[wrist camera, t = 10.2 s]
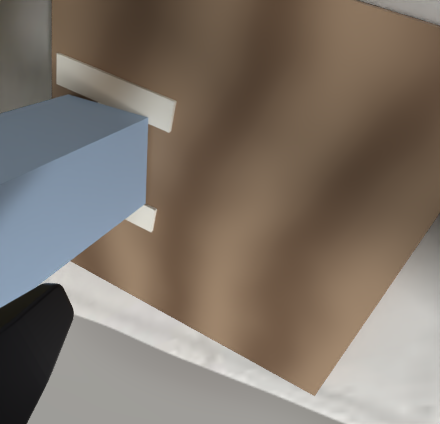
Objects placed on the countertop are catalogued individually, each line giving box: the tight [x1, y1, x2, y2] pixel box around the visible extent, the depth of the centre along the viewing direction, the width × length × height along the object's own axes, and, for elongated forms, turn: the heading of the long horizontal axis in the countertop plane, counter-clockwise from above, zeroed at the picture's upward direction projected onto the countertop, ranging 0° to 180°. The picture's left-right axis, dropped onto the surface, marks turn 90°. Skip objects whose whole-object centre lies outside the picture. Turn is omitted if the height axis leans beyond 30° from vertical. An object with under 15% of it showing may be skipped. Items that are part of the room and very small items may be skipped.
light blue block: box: [0, 94, 148, 308], centre depth 16 cm, size 5×5×13 cm
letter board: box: [52, 0, 440, 396], centre depth 21 cm, size 20×20×1 cm
